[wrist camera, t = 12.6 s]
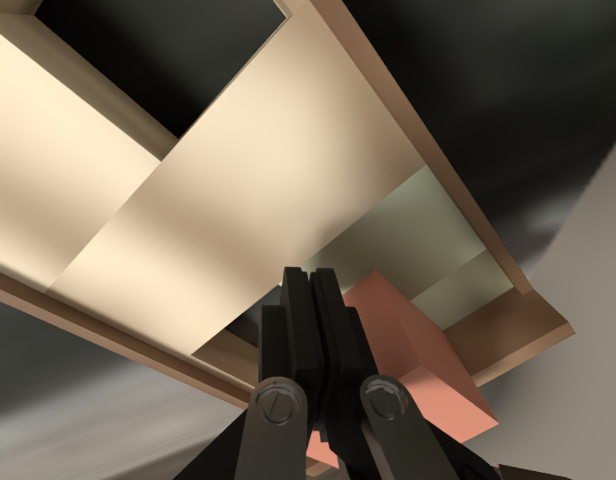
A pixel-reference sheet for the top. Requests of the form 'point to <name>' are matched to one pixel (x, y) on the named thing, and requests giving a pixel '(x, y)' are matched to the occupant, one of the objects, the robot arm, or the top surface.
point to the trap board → (241, 205)
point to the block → (414, 363)
